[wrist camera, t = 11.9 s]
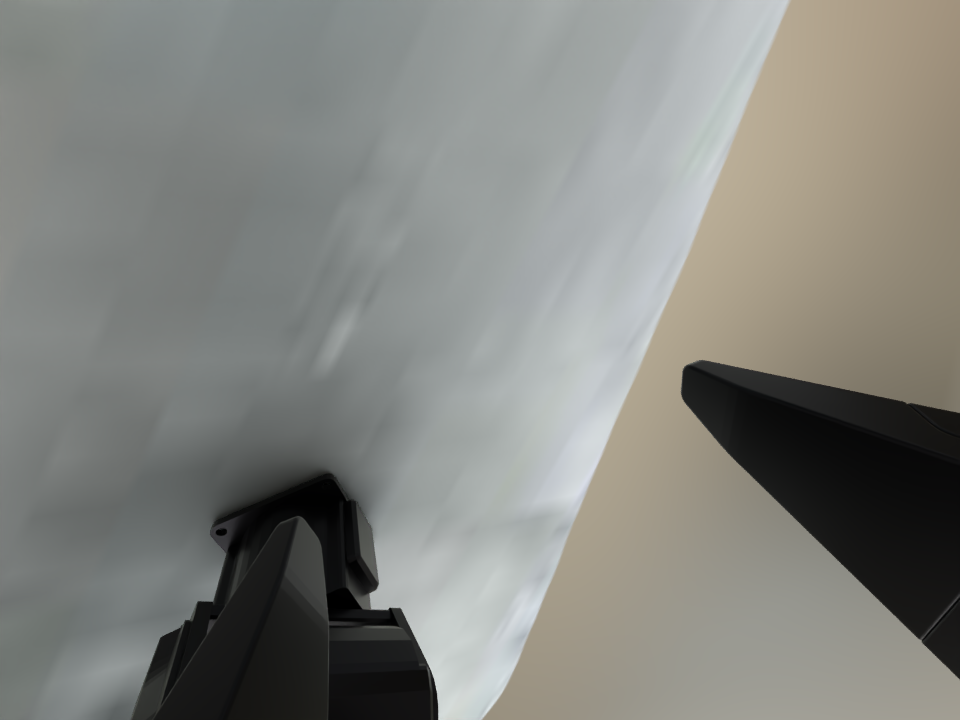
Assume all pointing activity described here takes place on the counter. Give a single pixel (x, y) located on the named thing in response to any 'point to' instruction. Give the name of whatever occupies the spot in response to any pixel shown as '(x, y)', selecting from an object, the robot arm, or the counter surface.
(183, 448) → the counter surface
